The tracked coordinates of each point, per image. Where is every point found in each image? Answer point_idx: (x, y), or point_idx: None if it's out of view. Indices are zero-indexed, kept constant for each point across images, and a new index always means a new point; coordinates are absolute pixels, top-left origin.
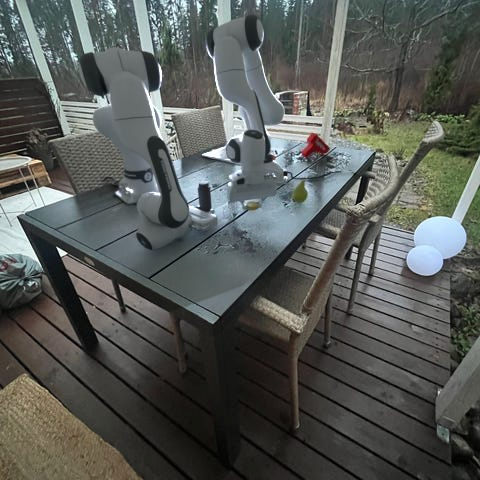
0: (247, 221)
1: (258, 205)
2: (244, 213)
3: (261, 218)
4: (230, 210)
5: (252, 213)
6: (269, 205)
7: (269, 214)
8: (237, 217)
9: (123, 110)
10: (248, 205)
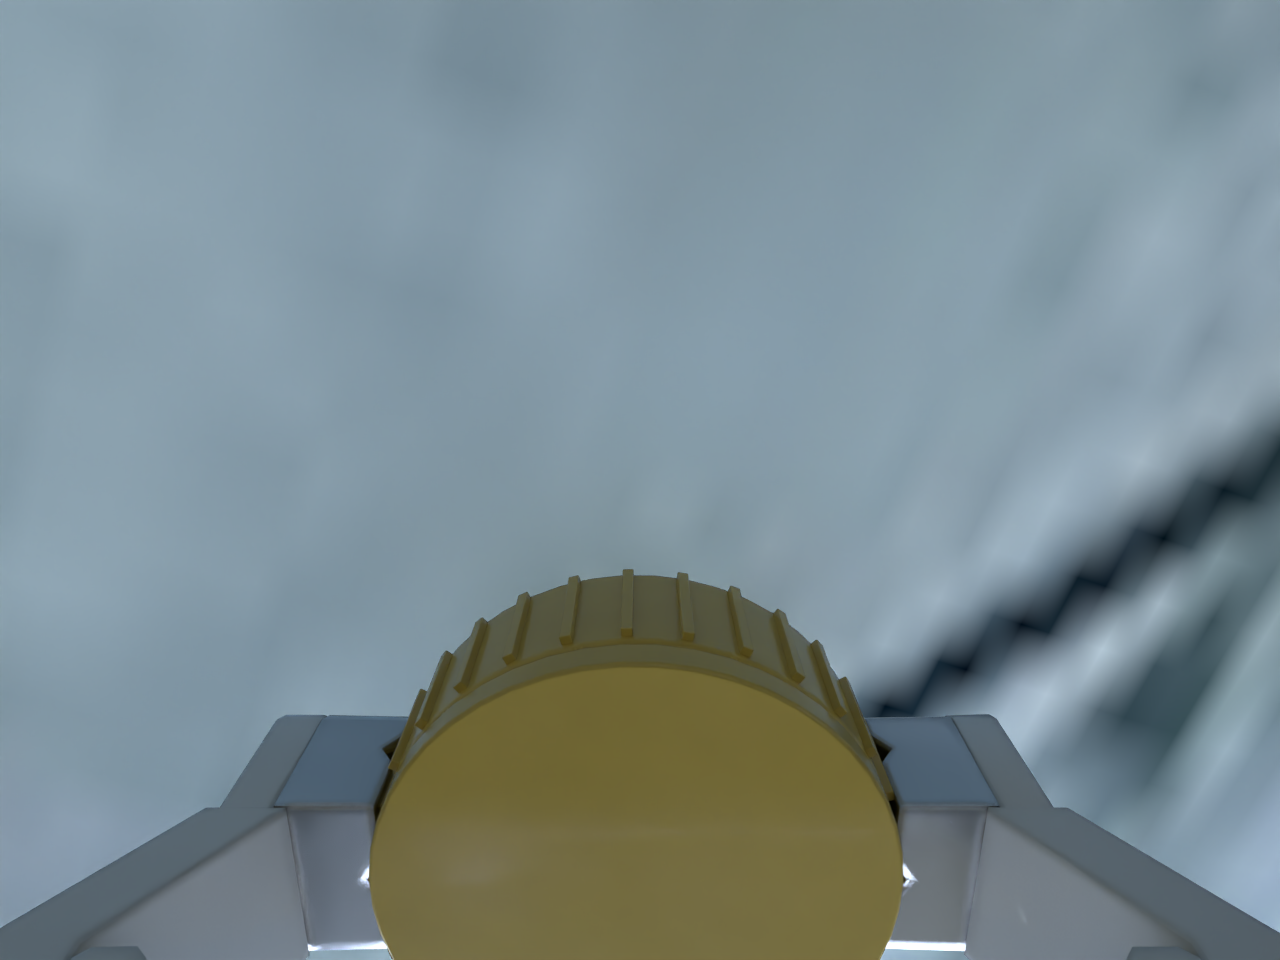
0: (999, 185)
1: (393, 756)
2: None
3: (465, 236)
4: None
5: None
6: (6, 909)
7: (123, 418)
8: (1162, 541)
9: None
10: (849, 814)
